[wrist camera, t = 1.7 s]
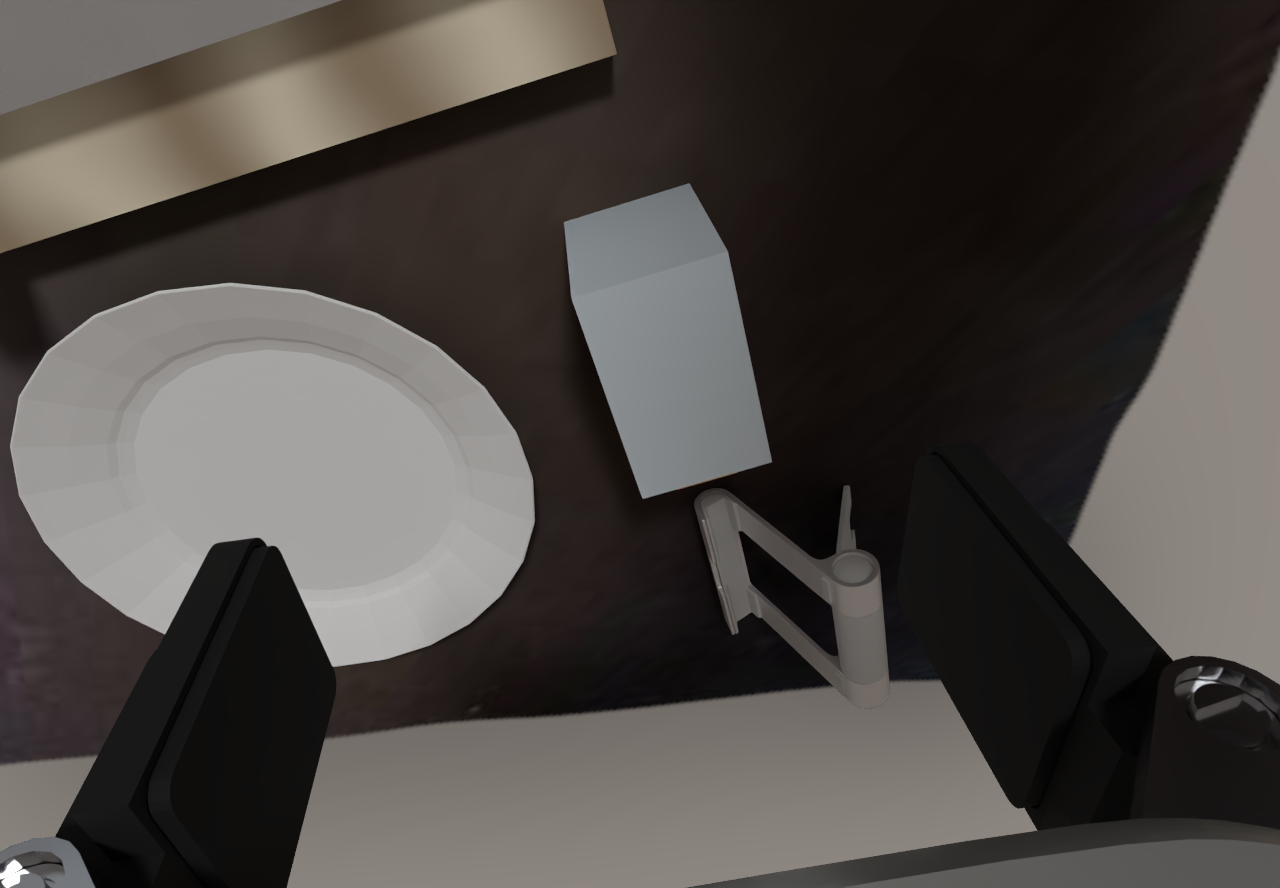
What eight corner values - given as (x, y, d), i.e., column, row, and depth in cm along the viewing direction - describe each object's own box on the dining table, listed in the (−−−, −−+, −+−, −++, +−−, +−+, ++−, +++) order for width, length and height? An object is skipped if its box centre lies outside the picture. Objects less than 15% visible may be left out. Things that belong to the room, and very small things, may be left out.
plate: (-31, 229, 27) (-72, 252, 25) (557, 293, 31) (559, 317, 29) (101, 627, 39) (79, 663, 37) (517, 637, 43) (517, 669, 41)
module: (689, 183, 29) (727, 251, 23) (732, 372, 34) (772, 466, 28) (563, 222, 29) (571, 298, 24) (625, 403, 34) (643, 502, 29)
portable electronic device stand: (690, 493, 38) (725, 621, 31) (845, 451, 37) (915, 572, 31) (721, 605, 43) (757, 737, 36) (858, 570, 42) (920, 696, 36)
